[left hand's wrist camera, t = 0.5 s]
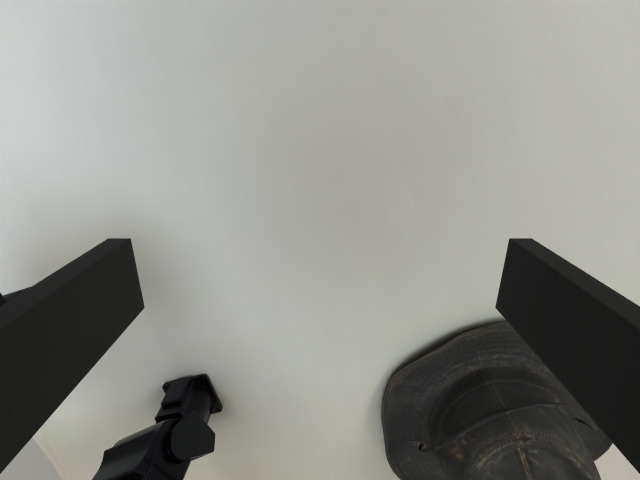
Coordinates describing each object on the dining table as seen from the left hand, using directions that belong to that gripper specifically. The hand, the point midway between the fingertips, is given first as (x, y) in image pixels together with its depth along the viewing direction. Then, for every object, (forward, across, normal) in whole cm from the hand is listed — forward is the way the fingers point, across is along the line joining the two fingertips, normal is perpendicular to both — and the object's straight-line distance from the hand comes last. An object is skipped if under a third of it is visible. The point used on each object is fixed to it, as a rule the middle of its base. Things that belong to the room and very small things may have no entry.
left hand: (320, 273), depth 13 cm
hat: (+27, +25, -37) cm, 52 cm away
